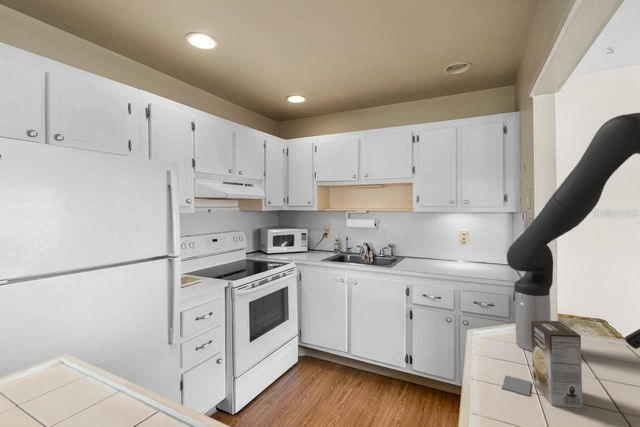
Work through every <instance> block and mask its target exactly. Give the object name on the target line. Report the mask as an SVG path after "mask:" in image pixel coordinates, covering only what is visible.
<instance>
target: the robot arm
mask: <svg viewBox="0 0 640 427" xmlns="http://www.w3.org/2000/svg"><path fill="white" fill-rule="evenodd" d="M634 155H640V112H634V113H633V112H632V113H625V114H621V115H617V116H615V117H612V118H610V119H608V120H607V121H605V122H604V123H603V124H602V125H601V126H600V127H599V128H598V130H597V131H596V133H595V134H594V136H593V138H592V139H591V141H590V143H589V144H588V146H587V147H586V149H585V151H584V153H583V155H581V158H580V159H579V161H578V162H577V164H576V165H575V166H574V167H573V169H572V170H571V172H569V174H568V175H567V176H566V177H565V179H564V180H563V182H562V183H561V184H560V185H559V187H558V188H557V189H556V190H555V192H553V194H552V195H551V197H550V198H549V199H548V200H547V202H546V203H545V204H544V207H543V208H542V209H541V211H540V212H539V213H538V214H537V216H536V217H535V218H534V219H533V221H532V222H531V223H530V225H528V227H527V228H526V229H525V230H524V232H522V233H521V234H520V236H518V237H517V239H516V240H515V241H513V243H512V244H511V245H510V246H509V248H508V250H507V253H506V262H507V264H508V266H509V267H510V268H511V269H512V270H514V271H516V272H517V271H518V272H525V273H524V275H523V276H522V277H520V278H519V279H518V280H516V281H515V282H514V284H513V286H514V287H513V288H514V306H515V308H514V309H515V310H514V312H515V314H514V315H515V341H516V342H515V344H516V345H517V346H518V347H519V348H521V349H524V350H527V351H530V352H532V331H531V321H552V320H551V319H552V317H551V314H552V313H551V312H552V311H551V293H550V292H551V288H552V286H553V280H554V278H553V277H554V256H553V252H552V249H551V248H550V246H549V245H548V244H550V243H551V242H553V241H554V240H556V239H558V238H559V237H562V236H563V235H565V234H566V233H569V232H570V231H572V230H573V229H575V228H576V227H578V226H579V225H581V223H582V222H583V221H584V220H585V219H586V218H587V217H588V216H589V215H590V213H592V211H593V210H594V209H595V207H596V206H597V205H598V203H599V201H600V199H601V196H602V194H603V191H604V189H605V186H606V184H607V182H608V181H609V179H611V177H612V176H613V174H614V173H615V172H616V171H617V170H618V169H619V168H620V167H621V166H622V165H623V164H624V163H625V162H626V161H627V160H628V159H630V158H631V157H632V156H634ZM624 341H625V342H626V343H627V344H628V345H629V346H630V347H632V348H633V349H634V350H636V349H639V348H640V328H639V329H638V328H637V329H636V330H635V331H633V332H631V333H630V334H628V335H626V336H625V337H624Z"/></svg>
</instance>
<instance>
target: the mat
mask: <svg viewBox="0 0 640 427" xmlns="http://www.w3.org/2000/svg"><path fill="white" fill-rule="evenodd" d="M504 376H505V377H504V378H503V382H502V387H501V390H505V391H508V392H512V393H515V394H519V395H523V396H527V397H530V395H531V387H532V381H531V380H525V379H522V378H520V377H519V378H518V377H514V376H509V375H507V374H505V375H504Z"/></svg>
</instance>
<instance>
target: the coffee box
mask: <svg viewBox="0 0 640 427" xmlns="http://www.w3.org/2000/svg"><path fill="white" fill-rule="evenodd" d="M531 331H532V351H531V355H532V356H531V357H532V359H531V360H532V382H533V383H532V385H534V387H535V388H537V390H538V392H540V393H541V395H542V396H543V397H544V398H545V399H546V401H547V402H549V404H550V405H551V406H553V407H554V406H555V407H565V408H578V409H582V408H583V387H582V386H583V382H582V381H583V378H582V377H583V376H582V370H583V369H582V342H581V340H582V337H581V336H582V335H580V334H579V333H577V332H576V331H574V330H573V329H572V328H570V327H568V326H567V325H565V324H564V323H563V322H561V321H559V320H551V321H531Z"/></svg>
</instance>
